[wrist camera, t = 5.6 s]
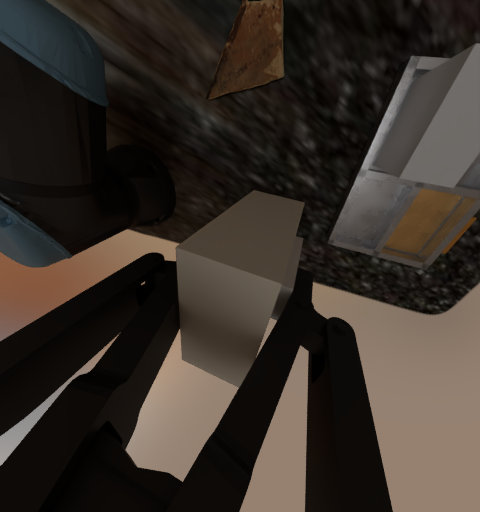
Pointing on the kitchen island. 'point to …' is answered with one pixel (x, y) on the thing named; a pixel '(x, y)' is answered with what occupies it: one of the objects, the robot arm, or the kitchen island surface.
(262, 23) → the shard
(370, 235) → the grey divided tray
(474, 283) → the kitchen island surface
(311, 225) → the kitchen island surface
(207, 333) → the grey beige block
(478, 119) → the grey rectangular block
